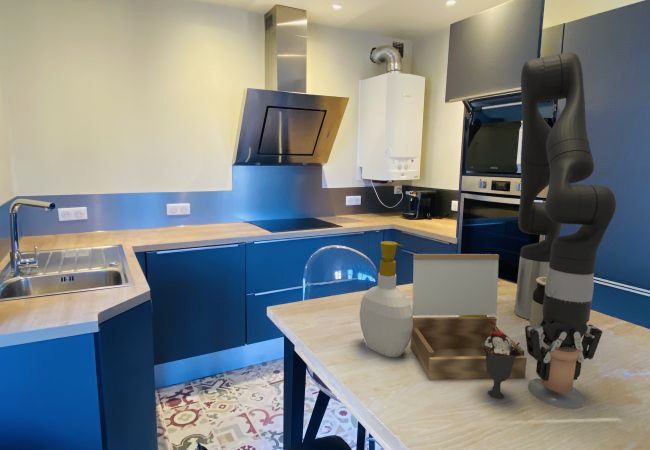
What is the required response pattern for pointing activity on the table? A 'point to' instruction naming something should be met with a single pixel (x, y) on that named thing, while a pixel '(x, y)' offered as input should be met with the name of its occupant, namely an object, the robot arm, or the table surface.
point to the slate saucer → (556, 395)
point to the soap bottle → (386, 310)
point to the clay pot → (562, 369)
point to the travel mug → (538, 304)
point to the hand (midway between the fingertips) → (557, 377)
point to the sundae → (499, 359)
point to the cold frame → (456, 347)
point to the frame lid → (455, 284)
